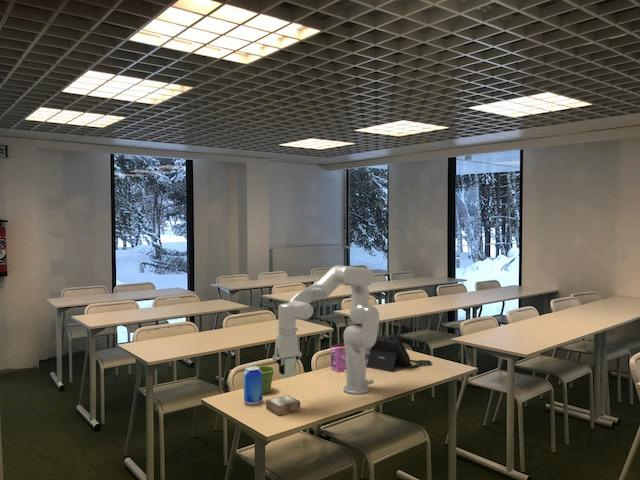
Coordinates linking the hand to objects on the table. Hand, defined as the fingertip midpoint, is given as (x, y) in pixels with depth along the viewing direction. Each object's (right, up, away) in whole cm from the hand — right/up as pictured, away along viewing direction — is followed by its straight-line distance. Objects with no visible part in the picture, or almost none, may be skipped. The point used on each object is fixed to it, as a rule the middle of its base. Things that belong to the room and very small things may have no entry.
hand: (287, 372), depth 227 cm
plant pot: (-14, -16, +26) cm, 33 cm away
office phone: (+60, -13, +68) cm, 91 cm away
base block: (-2, -16, 0) cm, 17 cm away
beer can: (-16, -17, +10) cm, 26 cm away
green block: (0, -1, 0) cm, 1 cm away
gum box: (+32, -15, +65) cm, 74 cm away
